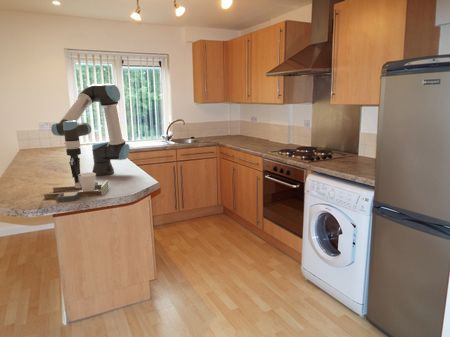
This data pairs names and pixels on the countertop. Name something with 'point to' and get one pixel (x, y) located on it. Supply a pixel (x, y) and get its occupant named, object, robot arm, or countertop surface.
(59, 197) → the trap bays
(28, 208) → the countertop surface
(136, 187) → the countertop surface
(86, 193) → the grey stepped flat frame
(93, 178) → the cup
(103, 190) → the stop block
